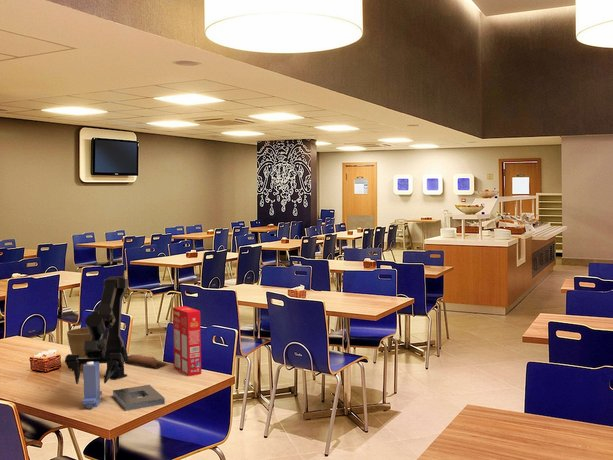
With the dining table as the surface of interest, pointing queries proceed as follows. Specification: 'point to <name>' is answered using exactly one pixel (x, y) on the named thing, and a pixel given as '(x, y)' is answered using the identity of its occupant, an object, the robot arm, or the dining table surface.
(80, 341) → the plant pot
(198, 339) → the food packaging
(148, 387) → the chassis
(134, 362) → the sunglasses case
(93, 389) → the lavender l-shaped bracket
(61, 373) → the dining table surface
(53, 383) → the dining table surface
